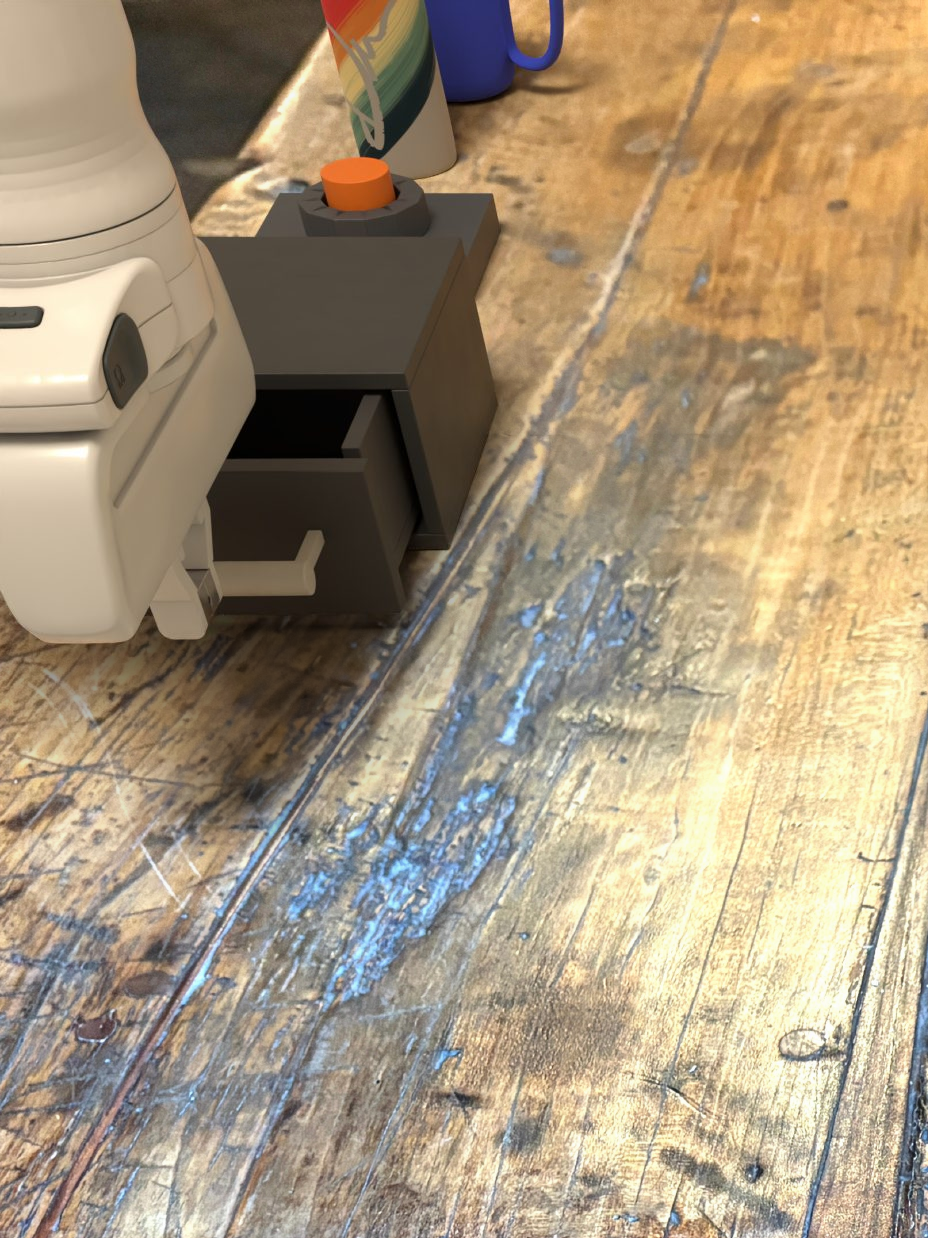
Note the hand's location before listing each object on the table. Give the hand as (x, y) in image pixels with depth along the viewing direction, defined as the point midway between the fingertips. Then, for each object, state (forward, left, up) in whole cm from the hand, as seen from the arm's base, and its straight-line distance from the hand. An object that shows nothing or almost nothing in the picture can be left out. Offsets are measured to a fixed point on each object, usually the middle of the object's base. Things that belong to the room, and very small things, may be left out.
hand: (194, 620), depth 90 cm
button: (-3, +47, -2) cm, 47 cm away
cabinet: (0, +23, -6) cm, 23 cm away
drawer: (0, +13, -5) cm, 14 cm away
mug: (-1, +74, -6) cm, 74 cm away
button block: (-3, +47, -6) cm, 47 cm away
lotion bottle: (-4, +62, -6) cm, 62 cm away
